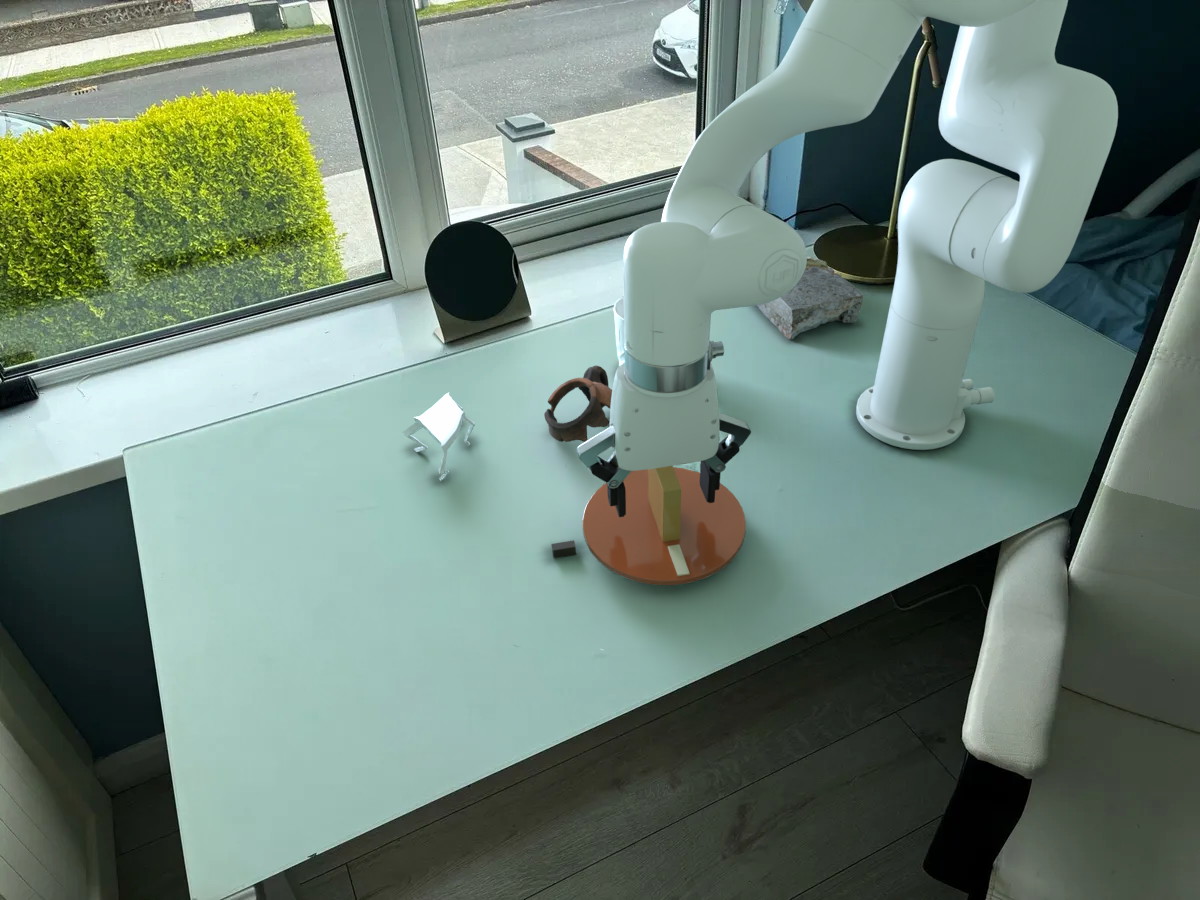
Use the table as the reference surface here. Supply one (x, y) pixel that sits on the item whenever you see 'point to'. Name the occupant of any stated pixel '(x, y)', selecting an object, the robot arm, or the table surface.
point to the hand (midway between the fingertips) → (663, 500)
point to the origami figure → (441, 427)
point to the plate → (643, 539)
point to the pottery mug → (593, 416)
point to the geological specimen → (814, 301)
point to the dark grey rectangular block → (563, 549)
